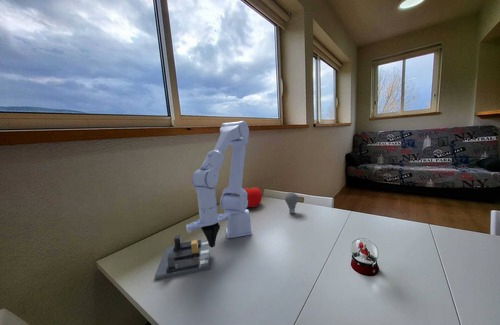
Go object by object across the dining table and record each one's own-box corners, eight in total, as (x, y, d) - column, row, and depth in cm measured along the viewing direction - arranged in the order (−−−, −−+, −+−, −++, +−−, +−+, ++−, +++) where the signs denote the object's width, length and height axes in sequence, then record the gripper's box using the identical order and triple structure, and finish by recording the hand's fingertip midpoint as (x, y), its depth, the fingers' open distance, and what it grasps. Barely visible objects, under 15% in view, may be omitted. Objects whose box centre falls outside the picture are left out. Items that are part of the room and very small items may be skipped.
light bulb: (298, 215, 91) (298, 194, 89) (285, 215, 92) (284, 194, 91) (298, 210, 97) (297, 190, 95) (285, 210, 98) (284, 191, 96)
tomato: (239, 210, 103) (237, 190, 101) (244, 202, 115) (242, 184, 113) (261, 210, 101) (259, 190, 100) (263, 201, 113) (262, 183, 111)
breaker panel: (209, 242, 73) (208, 229, 72) (209, 269, 59) (207, 252, 58) (166, 250, 70) (164, 236, 70) (155, 279, 56) (152, 262, 55)
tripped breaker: (198, 248, 66) (197, 239, 66) (197, 252, 64) (196, 243, 63) (192, 249, 66) (191, 240, 65) (192, 253, 63) (190, 244, 63)
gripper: (222, 198, 71) (226, 233, 73) (181, 208, 63) (186, 248, 65) (232, 203, 65) (235, 241, 67) (187, 215, 57) (192, 258, 59)
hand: (211, 245), depth 66 cm, fingers closed
